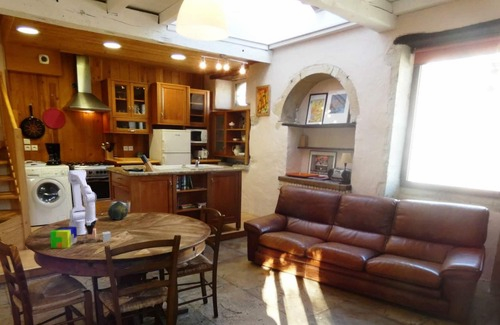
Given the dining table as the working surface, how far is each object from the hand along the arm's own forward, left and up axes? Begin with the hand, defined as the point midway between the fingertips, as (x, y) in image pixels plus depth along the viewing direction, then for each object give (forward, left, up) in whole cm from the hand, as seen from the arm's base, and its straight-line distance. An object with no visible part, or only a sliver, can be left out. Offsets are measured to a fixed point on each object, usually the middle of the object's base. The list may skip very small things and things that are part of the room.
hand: (90, 233), depth 190 cm
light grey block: (+9, -1, -5) cm, 10 cm away
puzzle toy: (-14, -2, -6) cm, 16 cm away
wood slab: (0, 0, -6) cm, 6 cm away
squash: (+12, +51, -6) cm, 53 cm away
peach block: (0, 0, -3) cm, 3 cm away
